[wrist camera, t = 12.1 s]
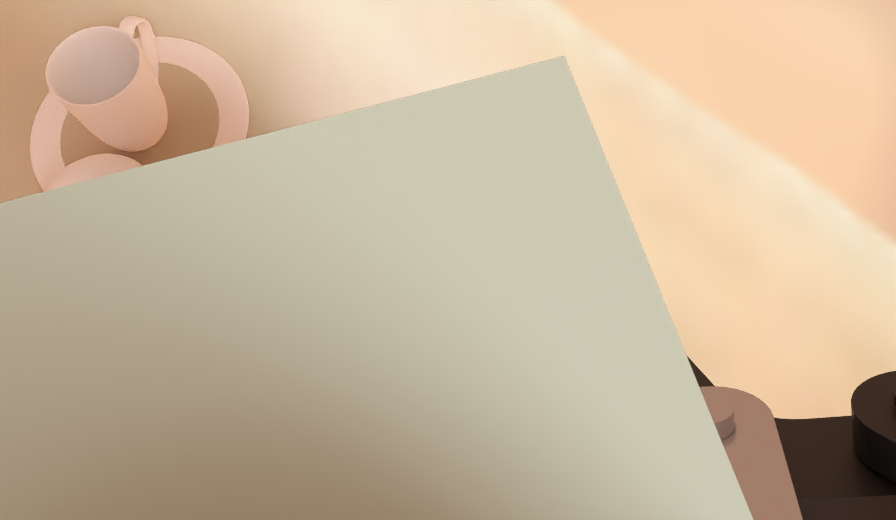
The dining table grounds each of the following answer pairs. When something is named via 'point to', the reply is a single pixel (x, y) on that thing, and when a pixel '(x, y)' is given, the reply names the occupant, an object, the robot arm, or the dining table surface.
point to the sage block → (354, 329)
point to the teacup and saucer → (122, 97)
